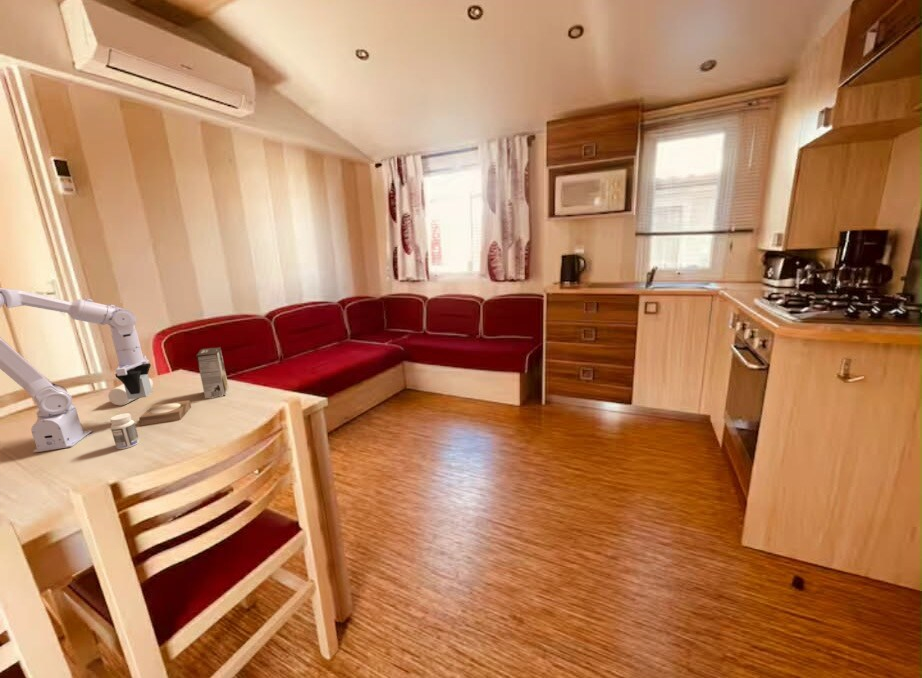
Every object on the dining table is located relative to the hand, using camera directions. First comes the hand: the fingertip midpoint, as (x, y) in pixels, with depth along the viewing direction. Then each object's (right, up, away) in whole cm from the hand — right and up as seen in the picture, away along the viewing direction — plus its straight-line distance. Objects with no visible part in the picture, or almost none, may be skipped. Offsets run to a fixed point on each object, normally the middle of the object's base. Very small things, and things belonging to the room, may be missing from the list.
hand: (139, 390), depth 115 cm
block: (0, -2, 0) cm, 2 cm away
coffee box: (+11, -4, +21) cm, 24 cm away
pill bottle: (+10, -13, -15) cm, 22 cm away
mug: (-18, -5, +11) cm, 22 cm away
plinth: (+7, -8, +3) cm, 11 cm away
